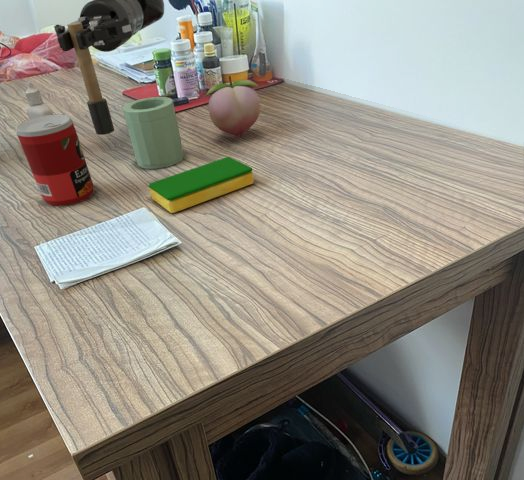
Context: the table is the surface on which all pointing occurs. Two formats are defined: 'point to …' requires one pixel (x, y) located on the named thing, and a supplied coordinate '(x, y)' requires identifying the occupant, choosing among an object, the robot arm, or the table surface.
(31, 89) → the eye dropper bottle
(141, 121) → the jar
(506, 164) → the table surface
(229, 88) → the decorative fruit
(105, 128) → the brush
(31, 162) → the canned food
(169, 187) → the dish sponge
